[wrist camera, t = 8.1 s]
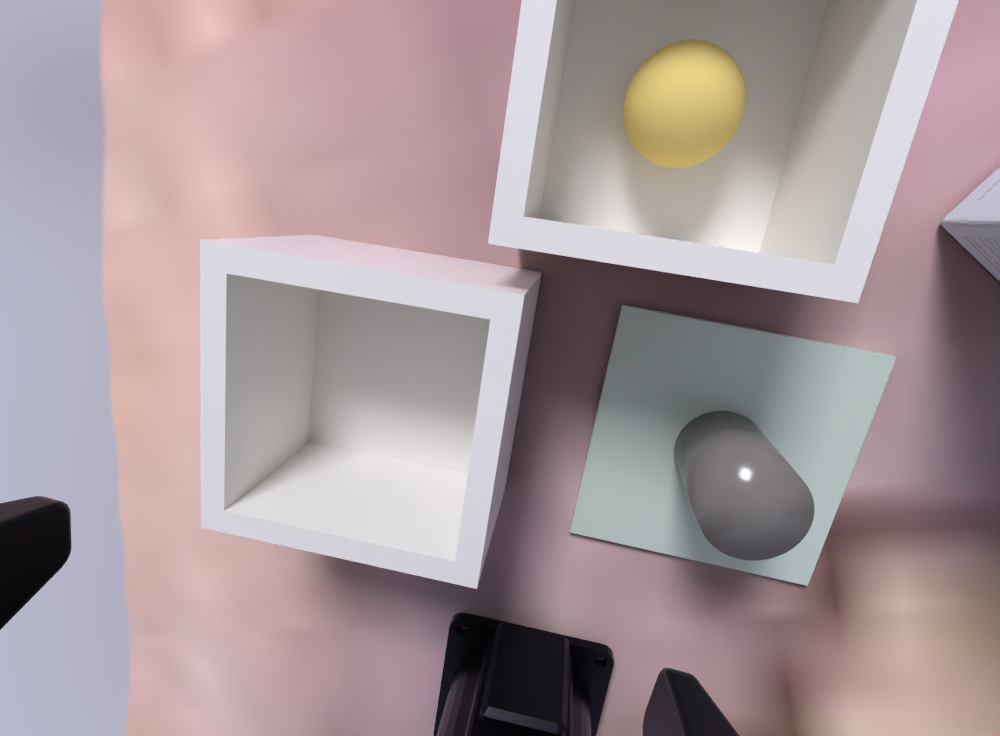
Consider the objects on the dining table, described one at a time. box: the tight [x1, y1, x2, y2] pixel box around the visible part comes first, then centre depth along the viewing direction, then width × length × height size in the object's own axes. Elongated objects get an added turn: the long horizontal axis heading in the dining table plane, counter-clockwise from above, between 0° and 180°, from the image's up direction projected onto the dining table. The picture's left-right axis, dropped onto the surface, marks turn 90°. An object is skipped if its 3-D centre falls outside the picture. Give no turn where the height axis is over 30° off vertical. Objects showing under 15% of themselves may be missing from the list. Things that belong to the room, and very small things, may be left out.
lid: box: [570, 304, 896, 586], centre depth 17 cm, size 9×9×5 cm
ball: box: [623, 39, 746, 168], centre depth 14 cm, size 3×3×3 cm
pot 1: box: [200, 235, 542, 589], centre depth 17 cm, size 8×8×6 cm
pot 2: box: [488, 0, 959, 303], centre depth 14 cm, size 8×8×6 cm
